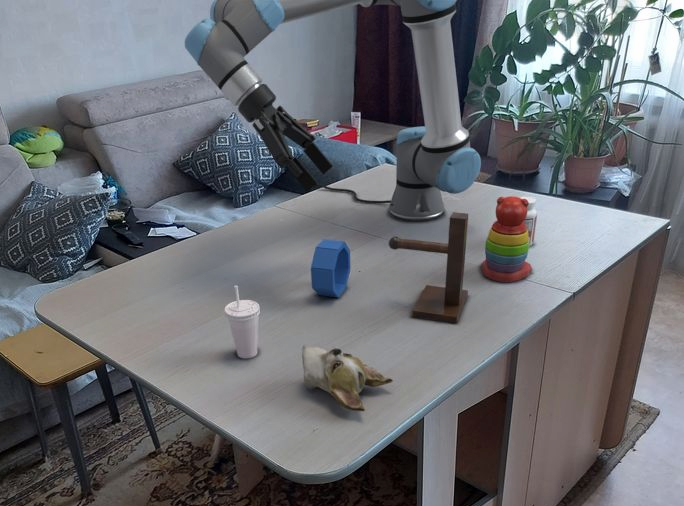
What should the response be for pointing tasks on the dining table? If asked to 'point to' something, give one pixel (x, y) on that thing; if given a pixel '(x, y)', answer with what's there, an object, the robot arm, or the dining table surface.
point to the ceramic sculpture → (339, 375)
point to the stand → (451, 297)
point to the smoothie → (243, 325)
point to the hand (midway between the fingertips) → (321, 178)
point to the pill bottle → (530, 218)
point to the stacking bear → (508, 242)
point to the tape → (330, 268)
